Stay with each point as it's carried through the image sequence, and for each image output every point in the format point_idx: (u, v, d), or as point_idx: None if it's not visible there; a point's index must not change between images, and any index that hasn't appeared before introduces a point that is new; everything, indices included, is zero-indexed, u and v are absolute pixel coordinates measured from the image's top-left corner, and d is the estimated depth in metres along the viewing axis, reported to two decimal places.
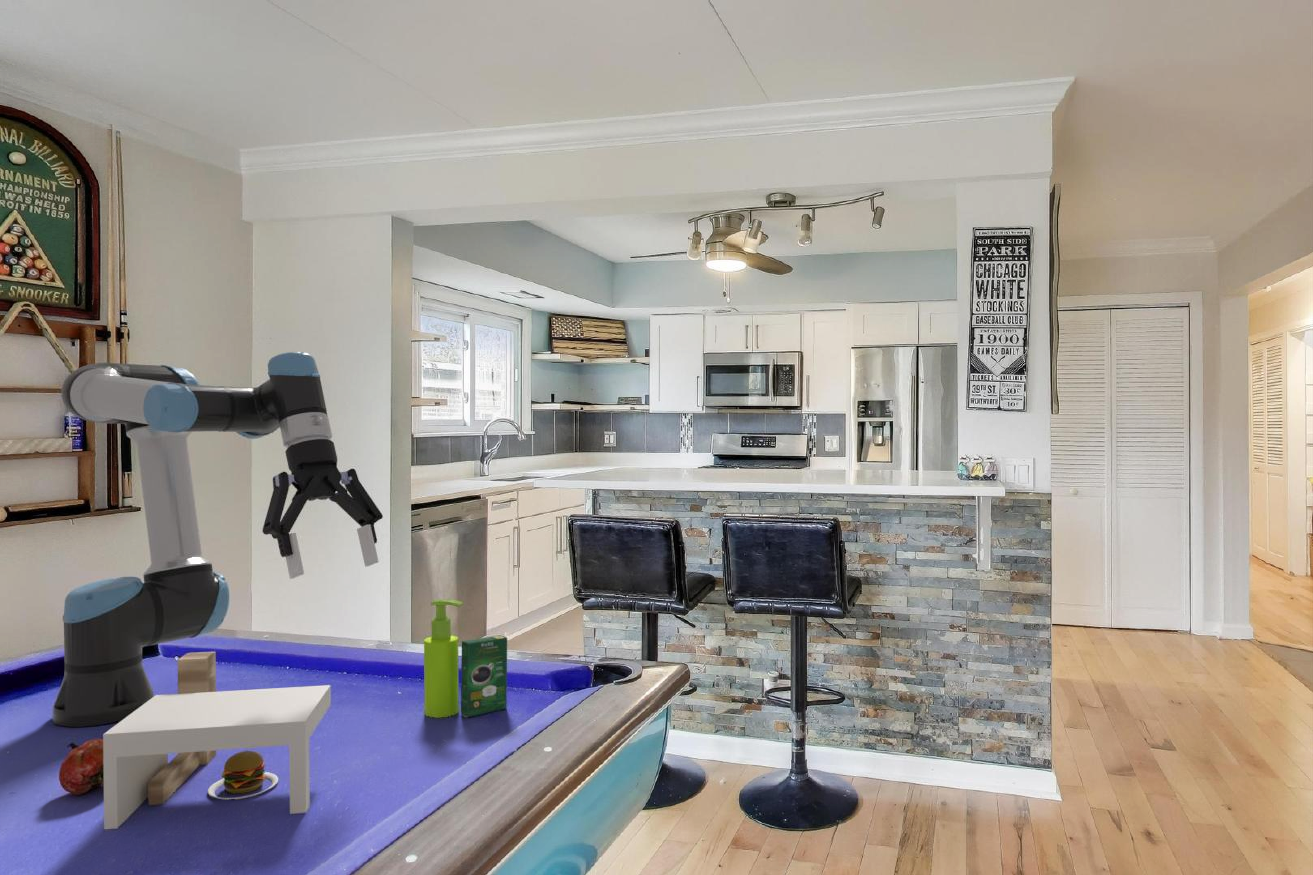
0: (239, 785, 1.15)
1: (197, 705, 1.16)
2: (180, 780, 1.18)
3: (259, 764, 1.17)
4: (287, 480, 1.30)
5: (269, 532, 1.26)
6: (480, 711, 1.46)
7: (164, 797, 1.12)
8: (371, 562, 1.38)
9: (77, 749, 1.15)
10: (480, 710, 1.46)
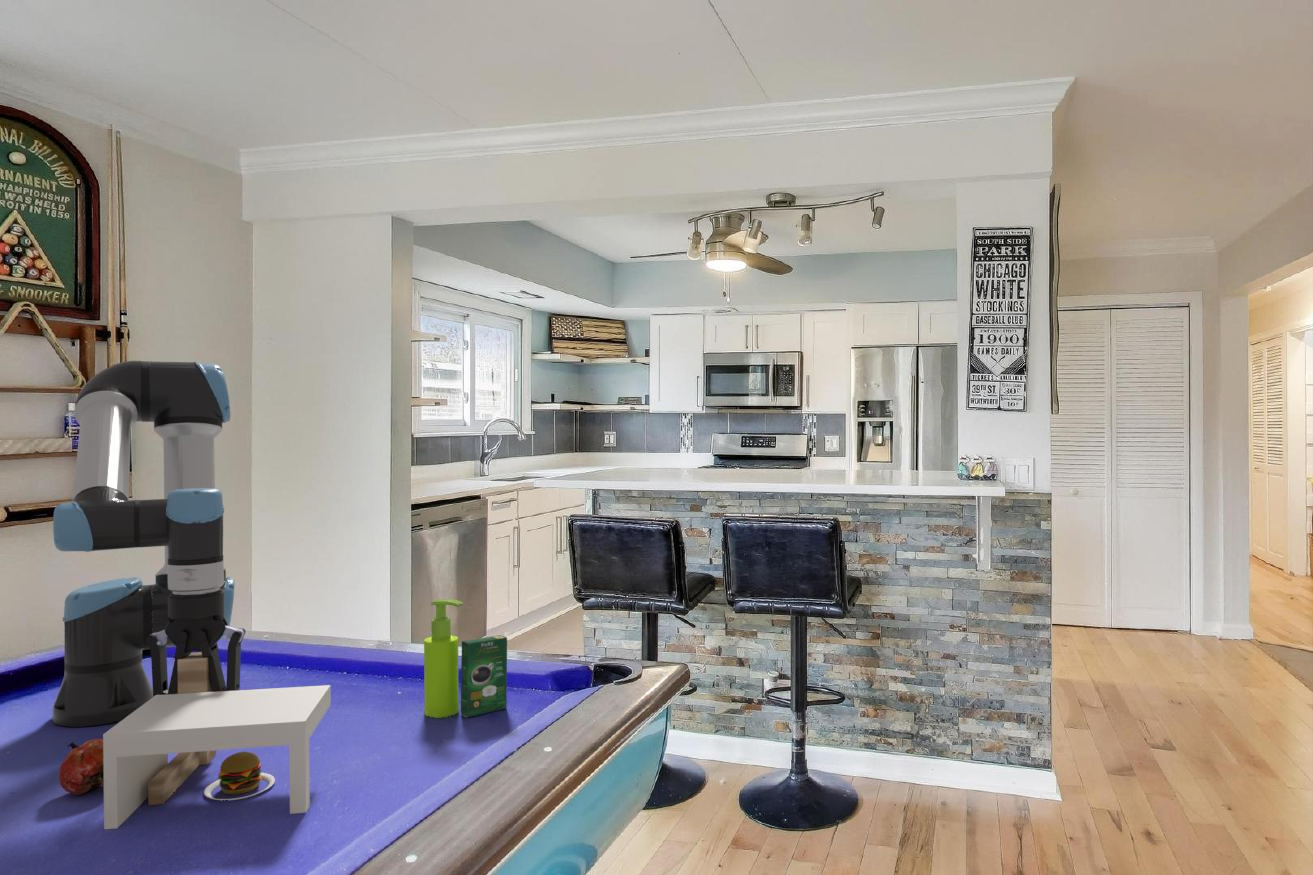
0: (236, 786, 1.14)
1: (197, 705, 1.16)
2: (180, 780, 1.18)
3: (256, 765, 1.17)
4: (155, 643, 1.25)
5: None
6: (480, 711, 1.46)
7: (164, 797, 1.12)
8: None
9: (77, 749, 1.15)
10: (480, 710, 1.46)
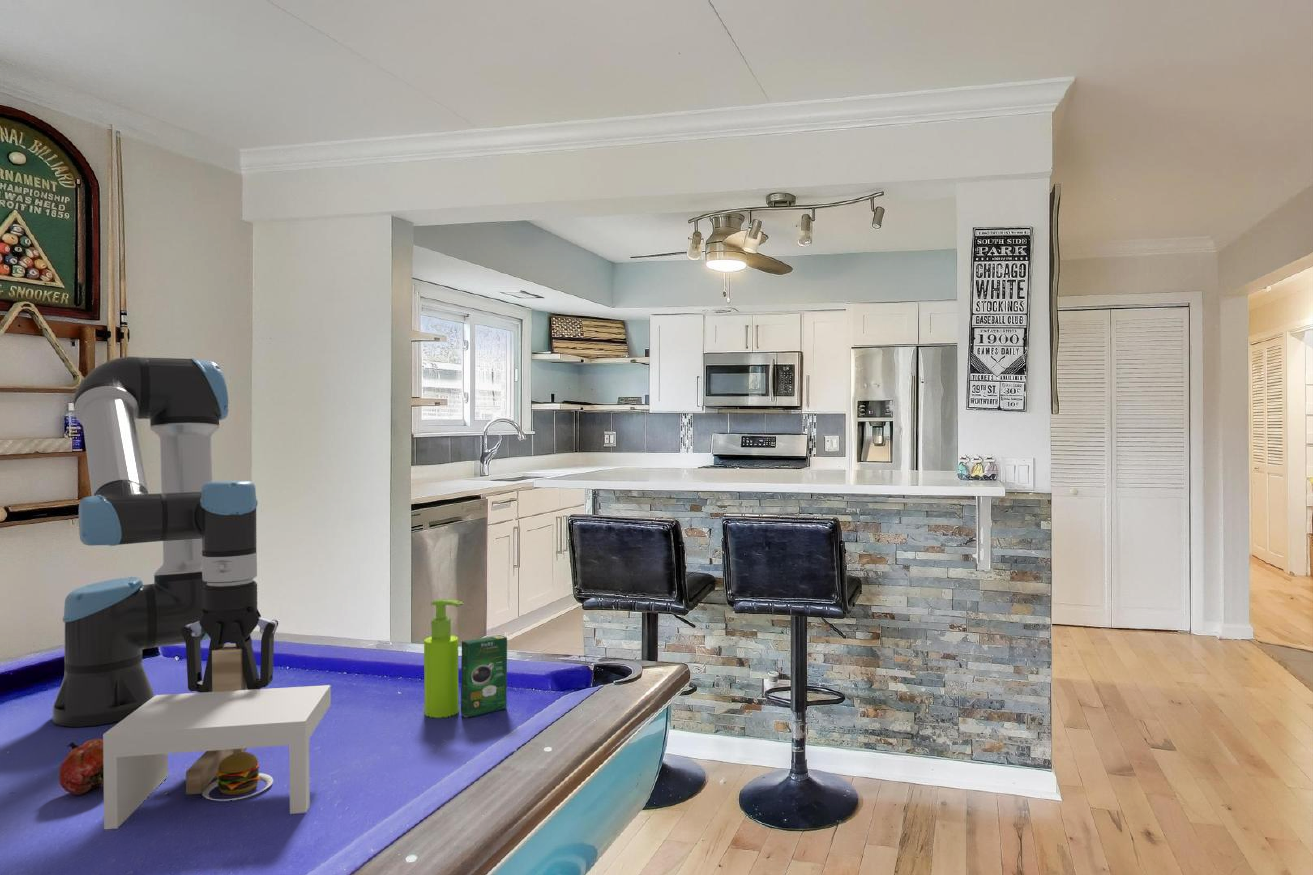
0: (235, 786, 1.14)
1: (197, 705, 1.16)
2: (216, 770, 1.19)
3: (254, 765, 1.16)
4: (190, 634, 1.26)
5: None
6: (480, 711, 1.46)
7: (201, 786, 1.13)
8: None
9: (77, 749, 1.15)
10: (480, 710, 1.46)
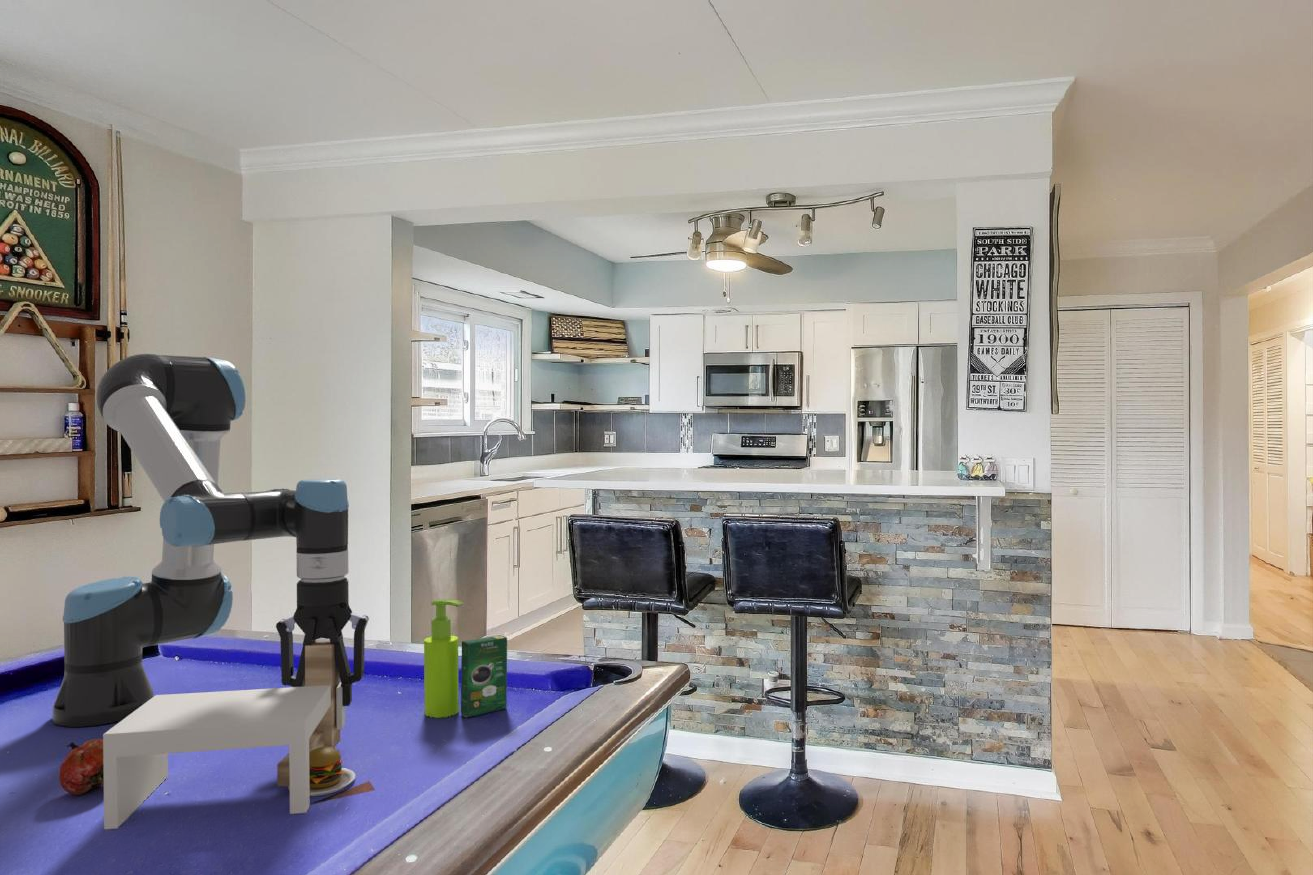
0: (319, 780, 1.16)
1: (197, 705, 1.16)
2: None
3: (338, 759, 1.18)
4: (284, 629, 1.28)
5: None
6: (480, 711, 1.46)
7: None
8: None
9: (77, 749, 1.15)
10: (480, 710, 1.46)
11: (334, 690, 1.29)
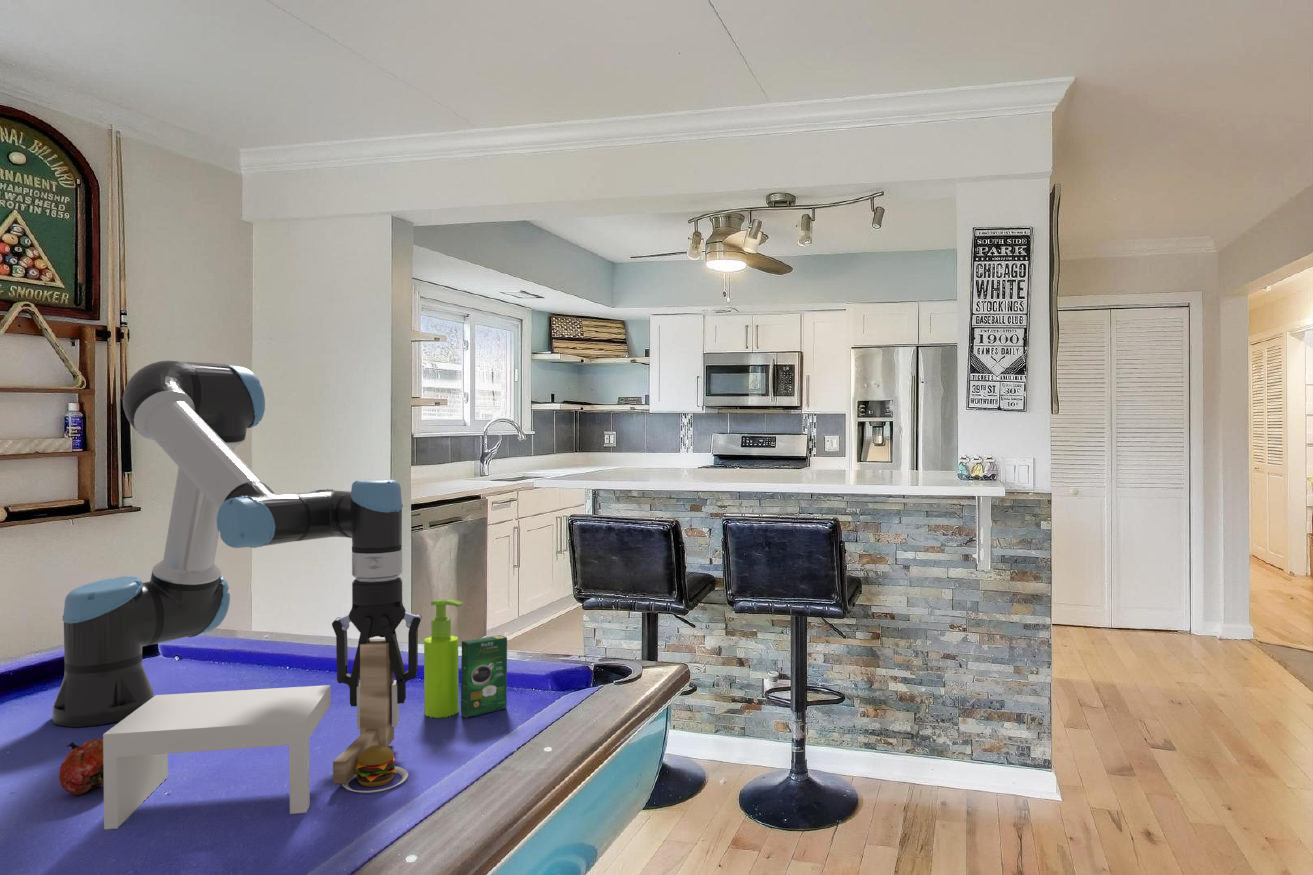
0: (374, 778, 1.17)
1: (197, 705, 1.16)
2: None
3: (391, 758, 1.19)
4: (340, 628, 1.30)
5: None
6: (480, 711, 1.46)
7: (347, 776, 1.16)
8: None
9: (77, 749, 1.15)
10: (480, 710, 1.46)
11: (388, 689, 1.30)
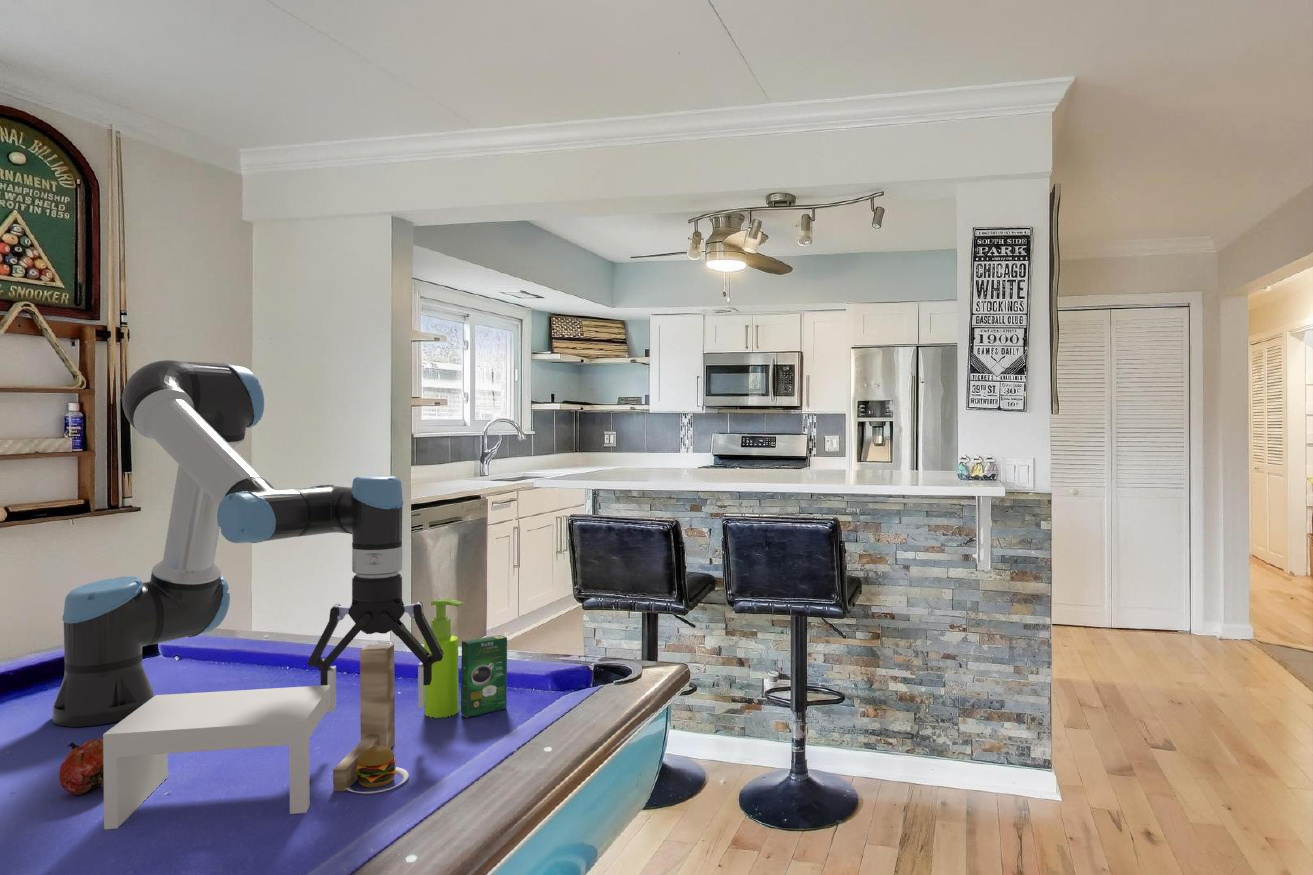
0: (374, 779, 1.16)
1: (197, 705, 1.16)
2: None
3: (391, 759, 1.18)
4: (336, 616, 1.29)
5: None
6: (480, 711, 1.46)
7: (347, 784, 1.16)
8: None
9: (77, 749, 1.15)
10: (480, 710, 1.46)
11: (388, 694, 1.30)
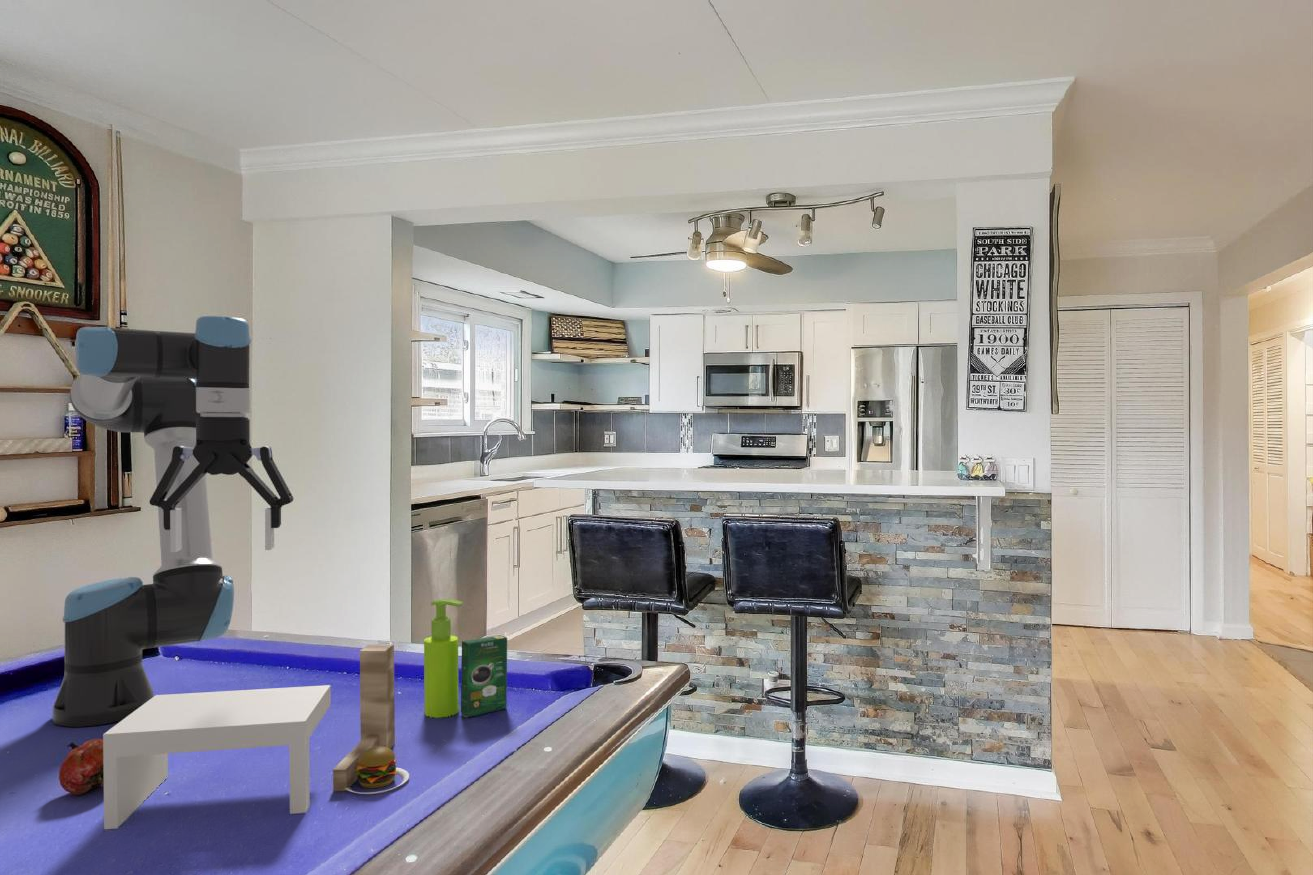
0: (374, 780, 1.16)
1: (197, 705, 1.16)
2: None
3: (392, 759, 1.18)
4: (179, 455, 1.29)
5: None
6: (480, 711, 1.46)
7: (347, 784, 1.16)
8: None
9: (77, 749, 1.15)
10: (480, 710, 1.46)
11: (388, 694, 1.30)
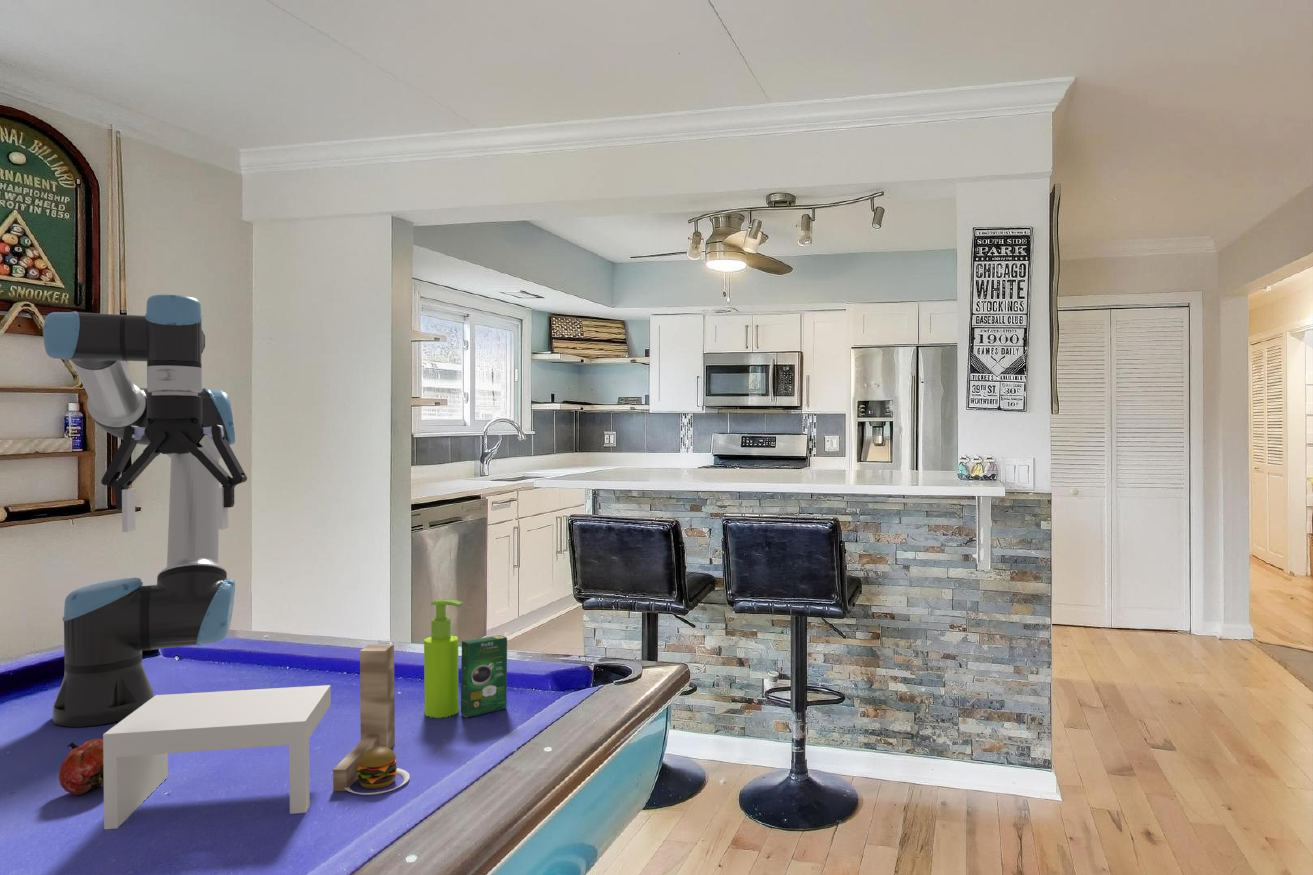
0: (374, 780, 1.16)
1: (197, 705, 1.16)
2: None
3: (392, 760, 1.18)
4: (130, 435, 1.29)
5: None
6: (480, 711, 1.46)
7: (347, 784, 1.16)
8: None
9: (77, 749, 1.15)
10: (480, 710, 1.46)
11: (388, 694, 1.30)
